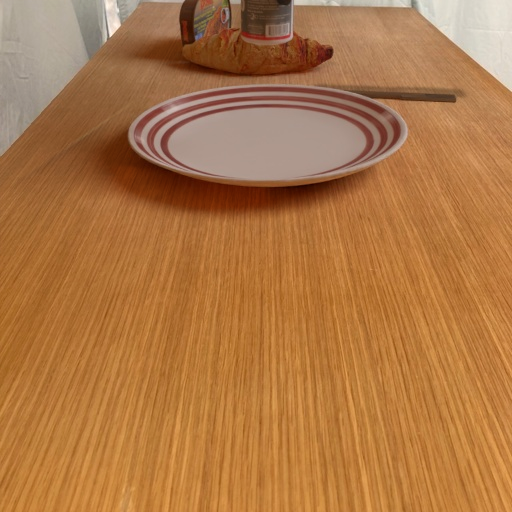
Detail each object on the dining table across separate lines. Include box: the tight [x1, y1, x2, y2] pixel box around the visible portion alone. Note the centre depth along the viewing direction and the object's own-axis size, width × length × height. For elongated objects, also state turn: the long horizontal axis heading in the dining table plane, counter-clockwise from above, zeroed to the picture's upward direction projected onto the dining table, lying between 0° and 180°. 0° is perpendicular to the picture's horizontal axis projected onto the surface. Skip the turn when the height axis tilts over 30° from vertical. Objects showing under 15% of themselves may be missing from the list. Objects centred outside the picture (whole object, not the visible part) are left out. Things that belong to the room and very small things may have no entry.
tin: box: [178, 0, 233, 48], centre depth 104 cm, size 15×3×8 cm, turn 161°
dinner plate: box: [127, 83, 409, 188], centre depth 69 cm, size 28×27×3 cm
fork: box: [342, 89, 457, 103], centre depth 86 cm, size 17×2×1 cm, turn 83°
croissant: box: [181, 27, 335, 76], centre depth 96 cm, size 21×10×8 cm, turn 85°
